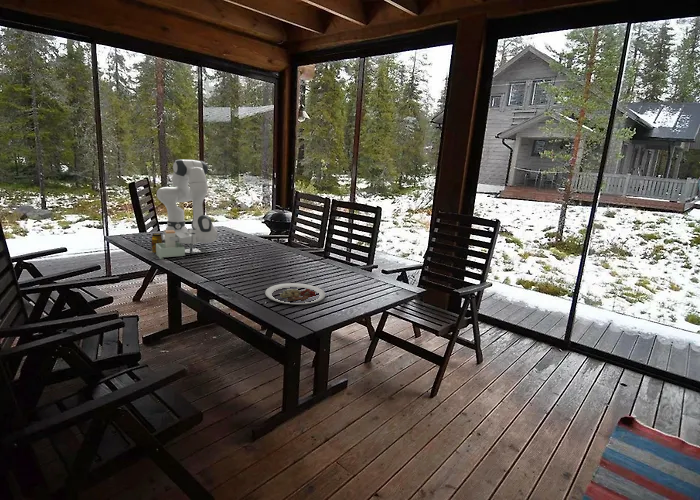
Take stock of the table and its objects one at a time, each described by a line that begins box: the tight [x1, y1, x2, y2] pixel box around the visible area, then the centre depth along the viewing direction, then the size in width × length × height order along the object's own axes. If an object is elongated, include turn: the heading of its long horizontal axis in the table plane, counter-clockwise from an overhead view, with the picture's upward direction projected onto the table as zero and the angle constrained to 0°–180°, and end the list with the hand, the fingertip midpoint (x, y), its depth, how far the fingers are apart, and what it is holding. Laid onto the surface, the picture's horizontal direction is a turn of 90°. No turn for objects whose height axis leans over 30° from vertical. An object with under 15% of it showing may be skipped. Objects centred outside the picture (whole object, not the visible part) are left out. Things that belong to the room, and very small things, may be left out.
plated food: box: [264, 282, 326, 305], centre depth 196 cm, size 30×30×3 cm
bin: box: [155, 241, 186, 260], centre depth 245 cm, size 14×14×7 cm
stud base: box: [185, 244, 202, 254], centre depth 257 cm, size 10×10×8 cm
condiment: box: [150, 232, 163, 254], centre depth 252 cm, size 7×8×12 cm
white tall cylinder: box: [164, 229, 176, 248], centre depth 244 cm, size 5×5×14 cm
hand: (168, 237), depth 243 cm, fingers open, 5 cm apart
